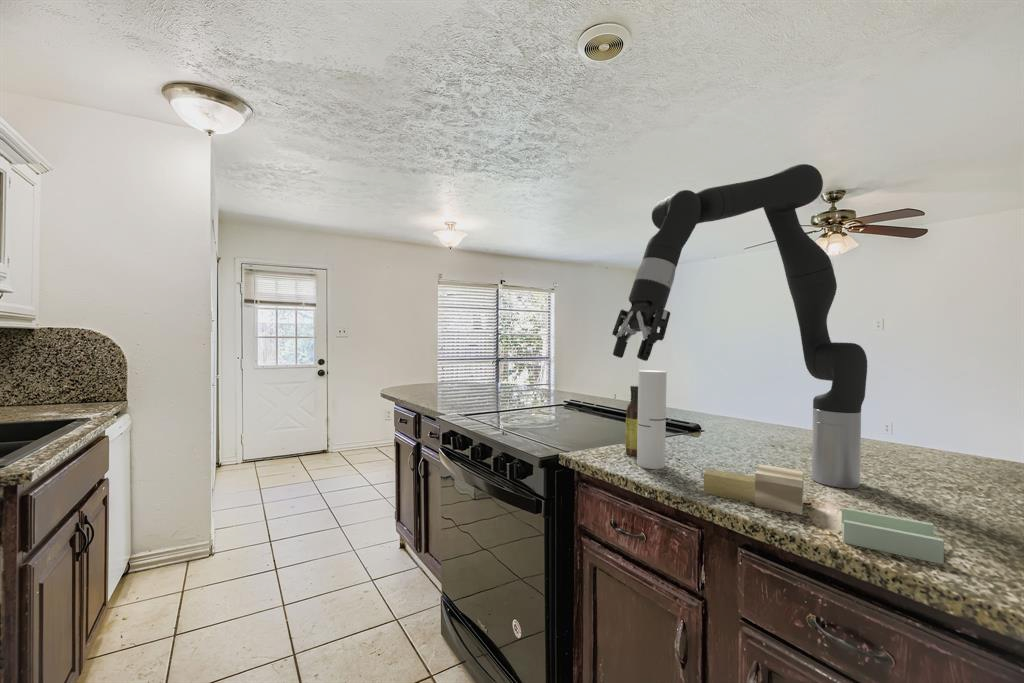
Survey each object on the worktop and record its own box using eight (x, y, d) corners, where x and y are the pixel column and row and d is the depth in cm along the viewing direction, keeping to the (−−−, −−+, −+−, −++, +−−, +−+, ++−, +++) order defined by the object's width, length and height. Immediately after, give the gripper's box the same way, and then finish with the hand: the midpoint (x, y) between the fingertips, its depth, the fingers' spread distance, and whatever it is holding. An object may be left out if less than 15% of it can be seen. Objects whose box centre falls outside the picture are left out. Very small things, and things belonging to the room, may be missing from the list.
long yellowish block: (708, 488, 100) (708, 468, 100) (803, 507, 90) (803, 485, 90) (703, 493, 97) (703, 473, 97) (801, 514, 86) (801, 491, 86)
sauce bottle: (643, 458, 125) (645, 387, 125) (622, 454, 128) (623, 386, 128) (650, 453, 130) (651, 385, 130) (629, 450, 133) (630, 384, 133)
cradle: (841, 526, 80) (841, 507, 80) (932, 544, 73) (932, 523, 73) (843, 542, 73) (844, 521, 73) (943, 564, 66) (944, 541, 66)
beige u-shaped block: (758, 494, 96) (759, 464, 96) (802, 502, 91) (803, 470, 91) (754, 505, 89) (755, 473, 89) (801, 514, 85) (802, 480, 85)
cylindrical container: (666, 469, 113) (668, 372, 113) (638, 467, 115) (639, 371, 115) (663, 462, 120) (664, 370, 120) (635, 460, 122) (637, 369, 122)
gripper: (690, 288, 86) (666, 367, 85) (645, 293, 100) (623, 361, 99) (661, 273, 84) (635, 354, 83) (618, 280, 97) (595, 350, 96)
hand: (629, 358), depth 91 cm, fingers open, 8 cm apart
